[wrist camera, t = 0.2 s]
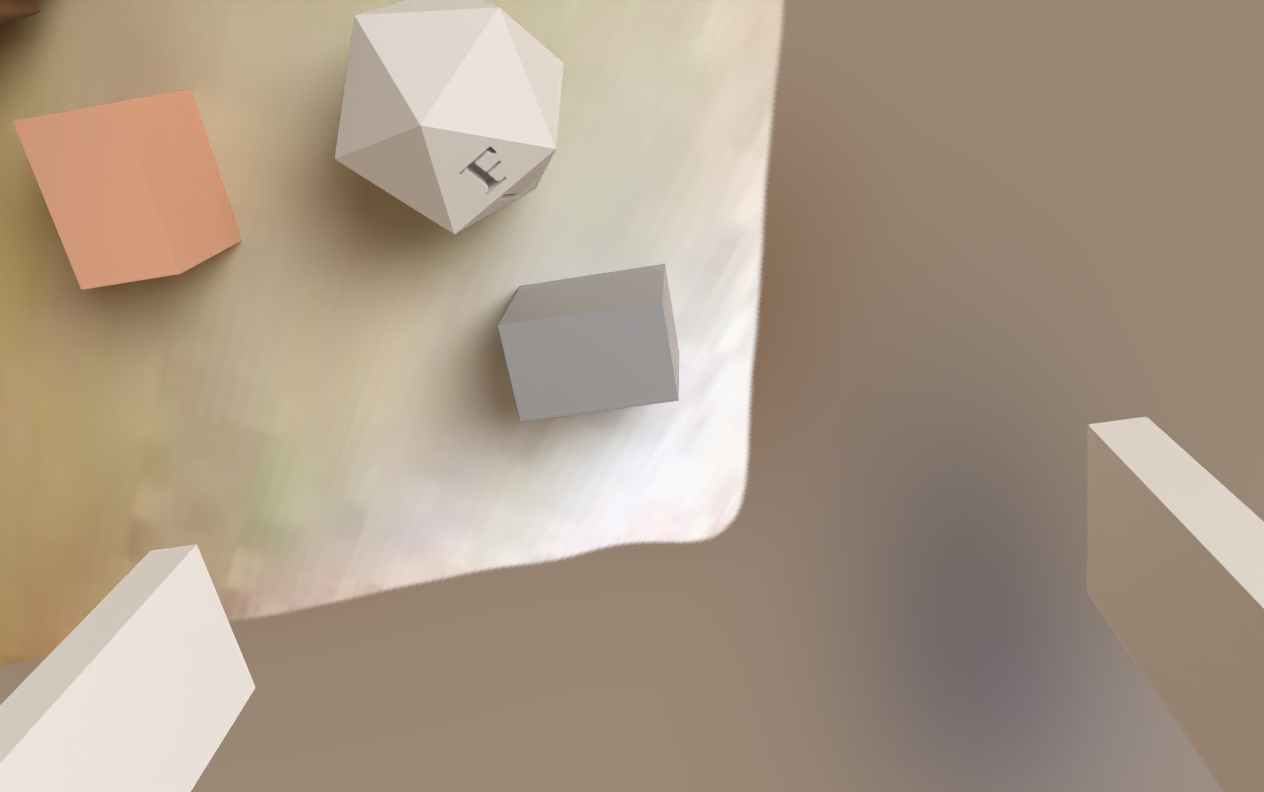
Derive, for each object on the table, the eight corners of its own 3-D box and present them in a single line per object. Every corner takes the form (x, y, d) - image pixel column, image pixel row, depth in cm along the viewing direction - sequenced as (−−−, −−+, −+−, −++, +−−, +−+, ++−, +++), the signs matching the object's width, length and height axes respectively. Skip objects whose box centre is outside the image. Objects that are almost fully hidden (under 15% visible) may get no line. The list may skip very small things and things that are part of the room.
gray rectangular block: (520, 285, 45) (497, 325, 39) (664, 263, 44) (662, 301, 39) (539, 372, 47) (520, 422, 41) (679, 352, 46) (678, 400, 40)
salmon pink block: (99, 105, 43) (12, 121, 37) (191, 88, 42) (117, 101, 37) (154, 254, 45) (81, 289, 40) (242, 240, 45) (179, 273, 39)
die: (476, 234, 44) (421, 296, 35) (340, 78, 42) (242, 100, 32) (616, 117, 42) (597, 150, 32) (480, -57, 39) (418, -74, 30)
